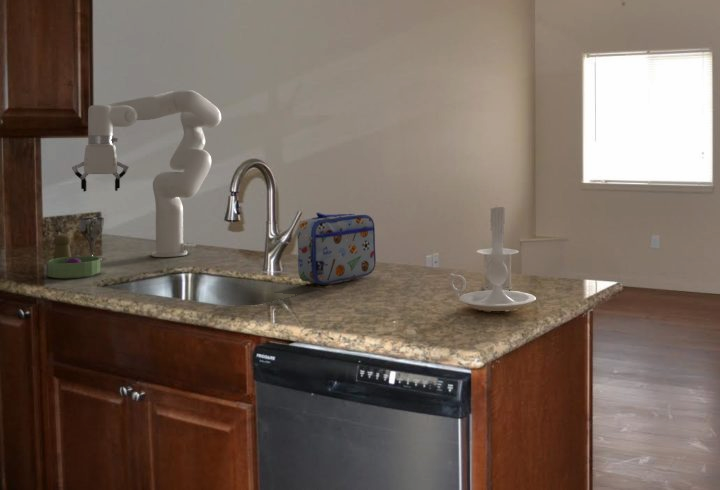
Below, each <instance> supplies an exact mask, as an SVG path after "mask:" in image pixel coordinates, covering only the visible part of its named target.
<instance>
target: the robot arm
mask: <svg viewBox="0 0 720 490" xmlns="http://www.w3.org/2000/svg"><path fill="white" fill-rule="evenodd" d="M175 114H180V122H181V123H180V124H181V125H182V129H183V136H182V139H181V141H180V142H179V144H178V146H177V148H176V149H175V151H174V153H173V154H172V156H171V158H170V161H169V166H170V169H171V170H172V171H163V172H160V173H158V174H157V175H155V177H154V179H153V181H152V191H153V195H154V201H155V251H152V252H151V253H150V256H151V257H154V258H176V257H182V256H187V255H188V250H197V244H196V243H194V244H193V243H190V244H189V243H185V241H184V206H183V202H182V200H181V199H183V198H184V199H186V198H188V199H189V198H192V197H195V195H196V194H197V193H198V192H199V190H200V189H201V186H202V185H203V183H204V181H205V179H206V178H207V176H208V174H209V172H210V171H211V167H212V157H211V154H210V153H209V152H208V151H207V150H205V149H204V148H205V145H206V137H205V133H204V130H203V129H204V128H209V129H210V128H215V127H217V126H218V125H219V124H220V123H221V121H222V113H221V111H220V109H219V108H218V107H217V106H216V105H215V104H213V102H211V101H210V100H208V99H207V98H206V97H205V96H203V95H201V93H198V92H197V91H195V90H192V89H191V90H190V89H186V90H185V89H181V90H180V89H178V90H170V91H166V92H161V93H157V94H153V95H150V96H149V95H148V96H144V97H138V98H135V99H130V100H122V101H119V102H114V103H110V104H106V105H105V104H94V105H90V106H89V107H88V110H87V120H88V121H87V134H88V137H87V144H85V149H84V157H83V161H82V162H80V163H78V164H75V165H74V166H72V167H71V170H72V171H73V173H74V174H75V176H76V177H77V178H79V179H80V188H81V190H82V191H83V192H87V179H86V178H87V177H88V176H89V175H113V176H114V177H115V179H114V191H115V192H118V191H119V190H118V189H121V178H123V177H124V176H125V175H126V173H127V172H128V170H129V166H128V165H127V164H124V163H121V162H120V161H119V160H118V153H117V146H116V145H115V144H114V143H116V142H118V137H115V136H114V127H115V128H125V127H126V128H127V127H130V126H133V125H134V124H135V123H136V122H137V121H150V120H156V119H160V118H163V117H166V116H171V115H175ZM82 167H83V172H84V173H81V172H80V171H79V169H80V168H82ZM118 167H119V168H122V171H121V172H120V173H119V172H118Z"/></svg>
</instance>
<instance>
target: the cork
mask: <svg viewBox="0 0 720 490" xmlns="http://www.w3.org/2000/svg"><path fill="white" fill-rule="evenodd" d="M71 242H72V237H71V236H70V235H69V234H59V235H56V236H55V237H54V238H53V243H54V245H55V247H54V254H53V259H56V258H63V257H72V253H71V246H70V245H71Z"/></svg>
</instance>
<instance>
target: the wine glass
mask: <svg viewBox="0 0 720 490" xmlns="http://www.w3.org/2000/svg"><path fill="white" fill-rule="evenodd" d="M78 221H79V222H78V225H79V231H80V234H81V236H82V237H83V238H84V239H85V240H86V241H87V242H88V244H89V247H90V248H89V250H90V255H89V256H94V247H95V243H96V241H97V240H98V239H99V238H100V236H101V235H102V234H103V231H104V227H105V217H99V216H98V217H97V216H96V217H95V216H94V217H93V216H92V217H80V218H79V219H78ZM99 258H100V261H101V260H103V258H102V257H99Z"/></svg>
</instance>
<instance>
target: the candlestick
mask: <svg viewBox="0 0 720 490" xmlns="http://www.w3.org/2000/svg"><path fill="white" fill-rule="evenodd" d="M505 210H506V209H505V207H504V206H497V205H495V207H491V208H490V220H489V221H490V232H491V247H490V248H491V249H488V248H481V249H477V250H475V253H477V254H480V255H483V256H484V255H486V256H488V257H490V258H491V264H490V266H489V268H488V270H487V277H488V279H489V281H490V282H491V283H492V284H493V290H477V291H471V292H466V293H464V294H461V295H460V293H462V292H463V291H464V290H465V289H466V287H467V281H466V278H465V277H464V276H463V275H461V274H454V273H448V276H449V277H451V278H450V282H449V283H450V284H449V285H450V287H451V289H452V290H453V291H454V294H455V297H456V298H457V300H459V302H462V303H465V305H467V306H468V307H470V308H472V309H474V310H477V309H478V310H477V311H481V310H485V311H484V312H487V313H492V312H491V311H505V312H504V313H507V312H508V313H510V311H506V310H514V309H518V310H520V309H519V308H521V309H523V308H525V307H526V306H528V305H530V304H531V303H534V302H535V301H536V300H537V297H536V296H535V295H533V294H531V293H527V292H523V291H517V290H510V291H508V290H502V284H503V283H504V282H505V281H506V279H507V277H508V270H507V267H506V266H505V264H504V259H505V258H506V257H507V256H510V255H511V256H512V255H515V254H518V253H520V251H519V250H517V249H513V248H507V249H503V248H504V229H505V228H504V227H505V226H504V225H505V219H506V218H505V217H506V213H505V212H506V211H505ZM456 279H460V280H461V281H462V287H461V288H457V287H455V284H454V282H455V280H456ZM522 307H523V308H522ZM514 311H515V310H514Z"/></svg>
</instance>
